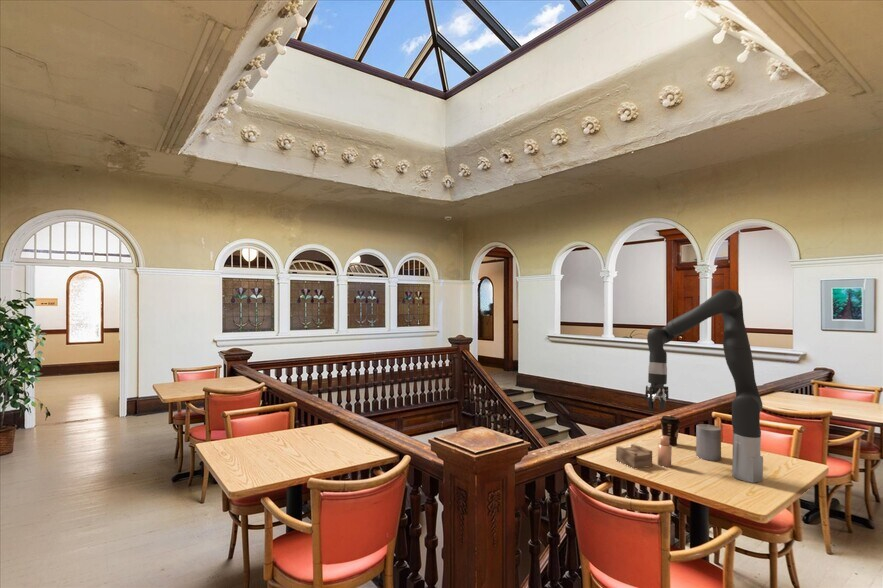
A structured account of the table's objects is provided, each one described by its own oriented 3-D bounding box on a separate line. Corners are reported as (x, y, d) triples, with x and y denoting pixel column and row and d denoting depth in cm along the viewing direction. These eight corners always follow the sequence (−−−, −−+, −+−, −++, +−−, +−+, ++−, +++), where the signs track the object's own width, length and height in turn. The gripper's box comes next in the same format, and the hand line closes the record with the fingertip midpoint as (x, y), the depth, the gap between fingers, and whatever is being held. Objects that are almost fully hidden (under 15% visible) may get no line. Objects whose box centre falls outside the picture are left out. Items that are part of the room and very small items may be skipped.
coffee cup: (675, 441, 227) (676, 415, 227) (682, 447, 219) (683, 420, 219) (657, 441, 228) (657, 414, 228) (663, 446, 220) (664, 419, 220)
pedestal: (652, 465, 193) (652, 451, 193) (634, 468, 189) (634, 453, 189) (633, 458, 202) (633, 443, 202) (616, 460, 198) (616, 446, 198)
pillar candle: (710, 453, 211) (710, 420, 211) (726, 461, 201) (726, 426, 201) (691, 454, 210) (691, 421, 210) (705, 461, 200) (705, 427, 200)
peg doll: (674, 466, 193) (674, 437, 193) (665, 467, 191) (665, 439, 191) (663, 462, 198) (664, 434, 198) (654, 463, 196) (655, 435, 196)
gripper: (656, 373, 198) (655, 411, 197) (674, 374, 206) (673, 410, 204) (640, 371, 205) (639, 408, 203) (658, 372, 212) (657, 408, 211)
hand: (656, 409), depth 204 cm, fingers open, 8 cm apart
